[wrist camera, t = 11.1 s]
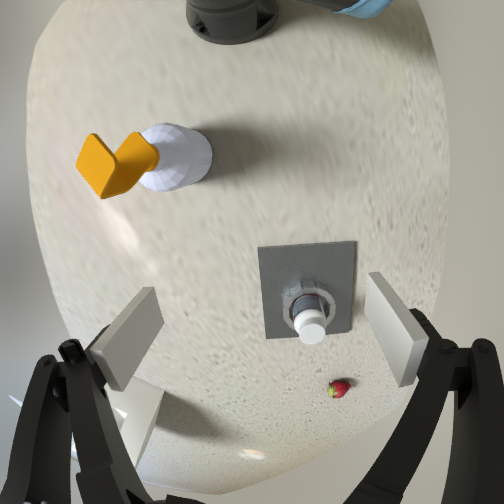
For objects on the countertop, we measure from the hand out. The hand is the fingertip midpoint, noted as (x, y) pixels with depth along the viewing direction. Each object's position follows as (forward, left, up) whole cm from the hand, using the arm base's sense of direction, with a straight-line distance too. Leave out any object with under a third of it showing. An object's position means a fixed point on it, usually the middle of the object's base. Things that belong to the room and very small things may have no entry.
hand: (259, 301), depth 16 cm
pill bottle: (+17, +5, -28) cm, 33 cm away
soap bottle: (-10, -12, -29) cm, 33 cm away
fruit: (+39, +13, -29) cm, 50 cm away
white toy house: (+47, -40, -29) cm, 68 cm away
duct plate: (+15, +6, -28) cm, 33 cm away
